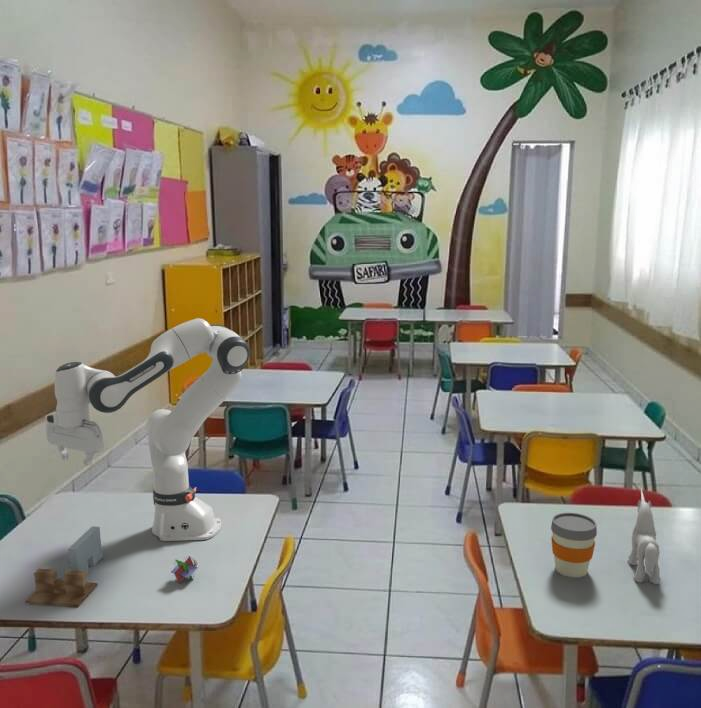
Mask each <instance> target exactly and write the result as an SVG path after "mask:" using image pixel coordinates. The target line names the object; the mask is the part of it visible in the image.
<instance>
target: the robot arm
mask: <svg viewBox="0 0 701 708" xmlns="http://www.w3.org/2000/svg"><path fill="white" fill-rule="evenodd" d="M150 345H151V346H150V351H149V353H148V356H146V358H145V359H144V360H143V361H141V362H140V363H138V364H137V365H135V366H133V367H132V368H130V369H129V370H127V371H126V372H124V373H122V374H120V375H117V376H116V375H115V374H113V373H112V372H111V371H108V370H105V369H103V370H102V369H100V368H99V369H97V368H94V367H91V366H88V365H86V364H84V363H83V362H80V361H71V362H68V363H65V364H61V365H60V366H59V367H57V369H56V371H55V373H54V396H55V399H56V407H55V408H56V409H55V410H56V411H54V412H51V413H48V414H46V415H45V416H44V419H45V422H46V424H45V430H46V431H45V432H46V439H47V442H48V443H49V444H50V445H54V446H57V450H58V452H59V453H60V455H61V456H60V457H61V460H63V461H68V460H70V459H71V458H70V452H68V450H67V449H72V450H76V451H80V452H84V453H85V455H86V458H84V459H83V465H84V466H86V467H87V466H91V465H92V464H93V457H94V456H95V454H98V453H100V452H102V451H103V450H104V449H105V446H104V439H103V433H102V430H101V427H100V426H99V425H98V424H97V422H96V421H91V420H90V407H89V405H90V404H91V406H92V408H94V409H95V410H96V411H98V412H100V413H104V414H105V413H106V414H108V413H109V414H111V413H114V412H117V411H118V410H121V409H122V407H123V406H124V405H125V404H126V403H127V402H128V400H129V399H130V398H131V396H133V395H134V394H135V393H137V392H138V391H140V390H142V389H143V388H144V387H146V386H148V385H150V384H151V383H152V382H154V381H155V380H157V379H159V378H161V376H163V375H164V374H166V373H168V372H169V371H171V370H173V369H174V368H176V367H179V366H181V365H182V364H184V363H186V362H187V361H189V360H191V359H193V358H195V357H196V356H198V355H201V354H205V353H206V355H208V357H209V358H211V359H212V361H211V364H210V366H209V367H208V369H207V370H206V371H205V372H203V374H201V375H200V376H199V377H198V378H197V379H196V380H195V381H194V382H192V383H191V385H190V386H189V387H187V389H186V390H184V392H183V393H182V394H181V395H180V398H179V400H178V401H177V403H176V405H175V406H174V407H173V409H172V410H170V409H165V408H160V409H156V410H154V411H153V412H152V413H151V414H150V415H149V417H148V418H147V422H146V430H147V439H148V446H149V447H148V448H149V454H150V459H151V466H152V467H151V469H152V478H153V489H152V500H153V505H154V517H153V524H152V528H151V532H152V534H153V535H154V536H156V537H158V538H159V541H161V542H176V541H177V542H178V541H179V542H181V541H182V542H183V541H200V540H201V541H203V540H205V541H206V540H210V539H212V538H213V537H214V536H216V535H217V534H218V533H219V531H220V530H221V528H222V525H223V524H222V523H223V522H222V520H221V518H219V517H215V513H214V510H213V508H212V506H211V505H210V504H207V503H206V502H204V501H203V500H201V499H200V498H198V497H197V496H196V491H197V486H196V487H194V488H192V487H191V486H190V482H189V468H188V460H187V456H186V451H187V450H188V448H189V447H190V444H191V441H192V439H193V438H194V437H195V435H196V434H197V432H198V431H199V429H200V428H201V426H202V425H203V423H204V422H205V421H206V420H207V419H208V417H209V416H210V415H212V414H213V412H214V411H215V410H217V408H219V407H220V406H221V404H223V402H224V401H226V400H227V399H228V398H229V397H230V395H231V394H232V393H233V392H234V391H235V389H236V388H237V387H238V385H239V384H240V382H241V381H242V377H243V375H242V371H243V370H244V367H245V366H246V364H248V362H249V359H250V355H251V350H250V346H249V345H248V343H247V342H246V340H245V339H244V338H242V337H241V336H240V335H239V334H237V333H236V332H235V331H233V330H231V329H229V328H228V327H227V326H225V325H222V324H218V323H217V324H216V323H213V324H210V323H209V322H208V321H206V320H205V319H203V318H201V317H200V318H198V317H197V318H194V319H190V320H188V321H187V320H186V321H184V322H183V323H180V324H178V325H176V326H174V327H172V328H170V329H168V330H166V331H165V332H163V333H161V335H159V336H158V337H157V338H155V339H154V340H153V341H152V343H151V344H150Z"/></svg>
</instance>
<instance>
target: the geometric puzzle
mask: <svg viewBox="0 0 701 708" xmlns="http://www.w3.org/2000/svg"><path fill="white" fill-rule="evenodd" d="M180 559H182V557H181V558H180ZM183 559H185V561H182V560H178V559H174V561H175V563H176V565H175V566H174V568H172V570H171V571H170V573H171V574H172V575H173V577H174V576H175V577H174V578H175V580H176V581H177V583H178V584H181V583H184V582H186V580H188V579H189V580H190V581H194V577H195V571H197V570H198V567H199V565H198V562H197V560H195V558H193V557H191V556H186V557H183ZM184 578H185V579H184Z"/></svg>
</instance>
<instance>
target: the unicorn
mask: <svg viewBox="0 0 701 708" xmlns="http://www.w3.org/2000/svg"><path fill="white" fill-rule="evenodd" d="M640 495H641V497H640V498H641V499H639V500H638V502H637V515H636V516H637V517H636V522H635V524H634V528H633V530H632V534H631V552H630V554H629V556H628V557H627V558H628V559H627V563H628V564H629V565H633V566H636V565H637V566H636V570H635V573H634V577H633V580H634V582H638V583H643V582H645V574H646V573H647V575H648V576H649V581H650V583H651V584H654V585H660V583H661V582H660V581H661V578H660V567H659V558H660V557H659V556H660V554H661V552H660V546H659V544H658V543H657V532H656V527H655V522H654V517H653V512H652V502H651V500H648V502H647V501H646V500H645V496H644V493H643V489H642V487H640ZM645 572H646V573H645Z"/></svg>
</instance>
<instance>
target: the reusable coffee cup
mask: <svg viewBox="0 0 701 708" xmlns="http://www.w3.org/2000/svg"><path fill="white" fill-rule="evenodd" d="M550 529H551V533H552V535H551V537H550V539H551V550H552V555H553V557H554V567H555V568H554V569H555V570H556V571H557V573H559V574H560V575H562V576H565V577H568V578H583V577H585V576H587V574H588V571H589V566H590V562H591V560H592V559H593V556H594V551H595V546H596V539H595V538H596V537H597V535H598V534H597V533H598V532H597V531H598V530H597V522H596V521H595V520H594V519H593V518H591V517H590V516H588V515H585V514H582V513H577V512H561V513H556V514H555V515H554V516H553V517H552V519H551V525H550Z"/></svg>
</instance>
